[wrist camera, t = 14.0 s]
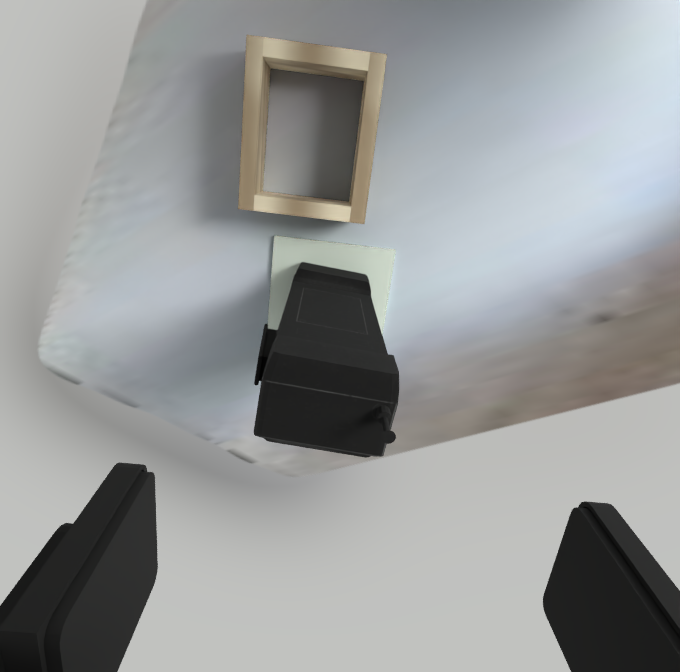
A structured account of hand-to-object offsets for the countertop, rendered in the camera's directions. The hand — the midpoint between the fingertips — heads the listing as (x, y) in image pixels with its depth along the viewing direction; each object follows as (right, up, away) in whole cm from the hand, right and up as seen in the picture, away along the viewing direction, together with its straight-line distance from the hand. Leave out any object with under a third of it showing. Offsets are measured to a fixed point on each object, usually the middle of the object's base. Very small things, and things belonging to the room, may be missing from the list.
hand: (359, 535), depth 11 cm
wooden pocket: (-3, +21, +31) cm, 37 cm away
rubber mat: (-1, +8, +36) cm, 36 cm away
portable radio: (-2, +8, +35) cm, 36 cm away
